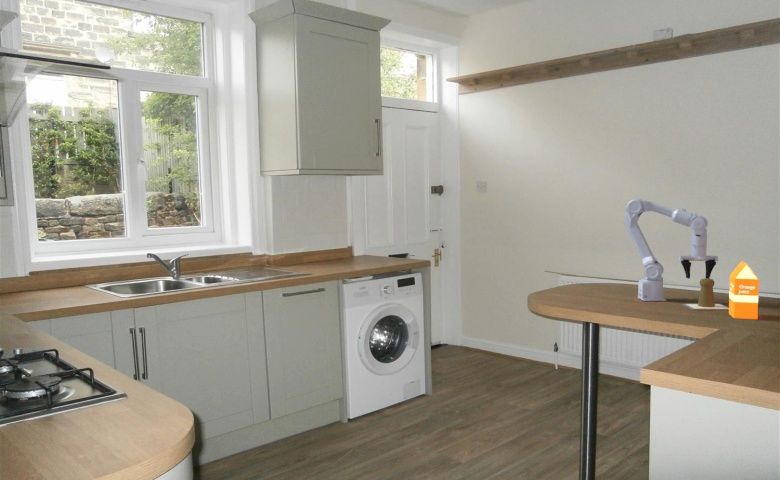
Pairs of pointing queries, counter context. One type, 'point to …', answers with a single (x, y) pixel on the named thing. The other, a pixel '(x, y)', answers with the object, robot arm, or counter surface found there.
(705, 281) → the cork
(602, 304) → the counter surface
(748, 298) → the orange juice
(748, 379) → the counter surface
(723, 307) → the notepad
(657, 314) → the counter surface
